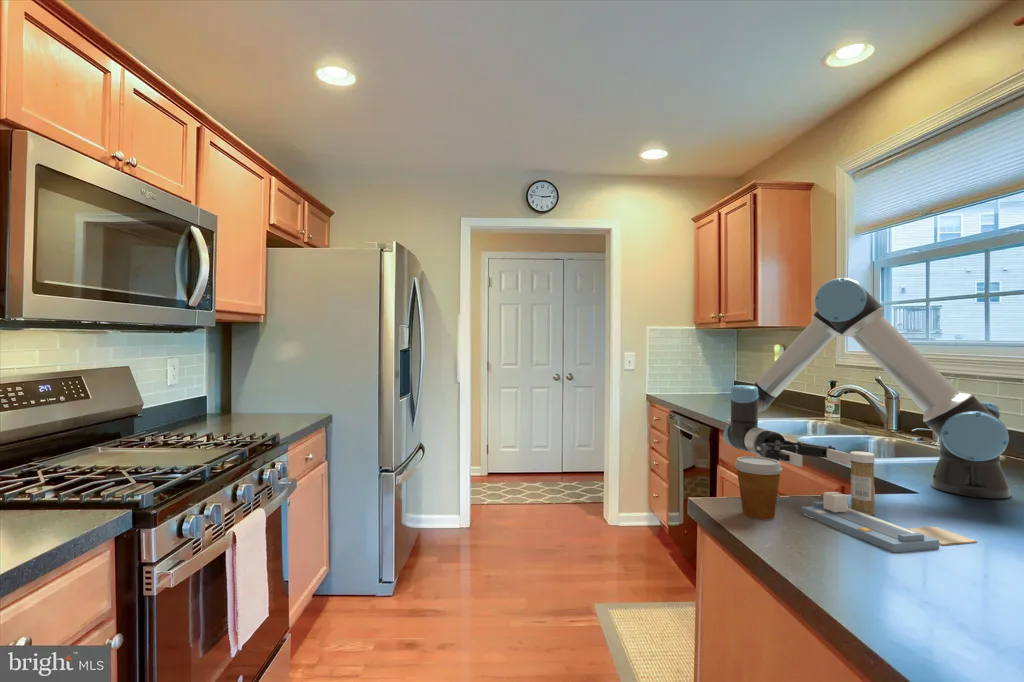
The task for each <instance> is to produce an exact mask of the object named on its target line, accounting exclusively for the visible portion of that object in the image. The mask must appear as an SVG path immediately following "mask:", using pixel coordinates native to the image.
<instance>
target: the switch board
mask: <svg viewBox="0 0 1024 682" xmlns="http://www.w3.org/2000/svg"><path fill="white" fill-rule="evenodd" d="M800 509H801V513H803V514H806V515H808V516H810V517H813V518H815V519H817V520H816V521H818V520H820V521H822V522H824V523H823V524H825V523H826V524H825V525H827V524H829V525H828V526H830V525H831V526H830V527H832V526H834V527H836V528H835V529H837V528H838V529H837V530H839V529H841V530H843V531H842V532H844V531H845V532H844V533H846V532H847V533H846V534H849V533H850V534H849V535H851V534H852V535H851V536H853V535H854V536H853V537H856V538H858V537H859V538H858V539H860V538H861V539H860V540H863V541H865V540H866V542H868V541H869V542H868V543H870V542H871V544H872V543H874V544H873V545H875V544H876V545H875V546H877V545H878V546H877V547H879V546H880V547H879V548H882V547H883V548H882V549H884V548H885V549H884V550H887V551H889V550H890V551H889V552H891V551H892V553H903V551H904V552H913V551H914V550H916V551H924V550H925V551H926V550H934V549H935V550H936V549H937V548H938V549H940V544H939V540H937V539H934V538H932V537H929V536H926V535H924V534H921V533H918V532H915V531H912V530H909V528H906V527H903V526H901V525H898V524H895V523H893V522H890V521H887V520H885V519H882V518H879V517H875V516H873V515H868V514H865V513H862V512H860V511H857V510H854V509H851V507H848V512H832V511H830V510H827V509H824V504H823V501H813V505H812V506H811V505H810V506H801V508H800ZM803 514H802V515H803ZM806 515H805V516H806ZM808 516H807V517H808ZM810 517H809V518H810ZM813 518H812V519H813ZM815 519H814V520H815ZM820 521H819V522H820ZM822 522H821V523H822ZM834 527H833V528H834ZM841 530H840V531H841ZM901 551H902V552H901Z"/></svg>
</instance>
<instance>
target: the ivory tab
mask: <svg viewBox="0 0 1024 682" xmlns="http://www.w3.org/2000/svg"><path fill="white" fill-rule="evenodd" d="M822 498H823V501H822V502H823V504H824V509H827V510H830V511H832V512H848V508H849V507H848V495H847V494H844V493H841V492H838V491H828V492H827V491H826V492H823V496H822Z"/></svg>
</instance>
